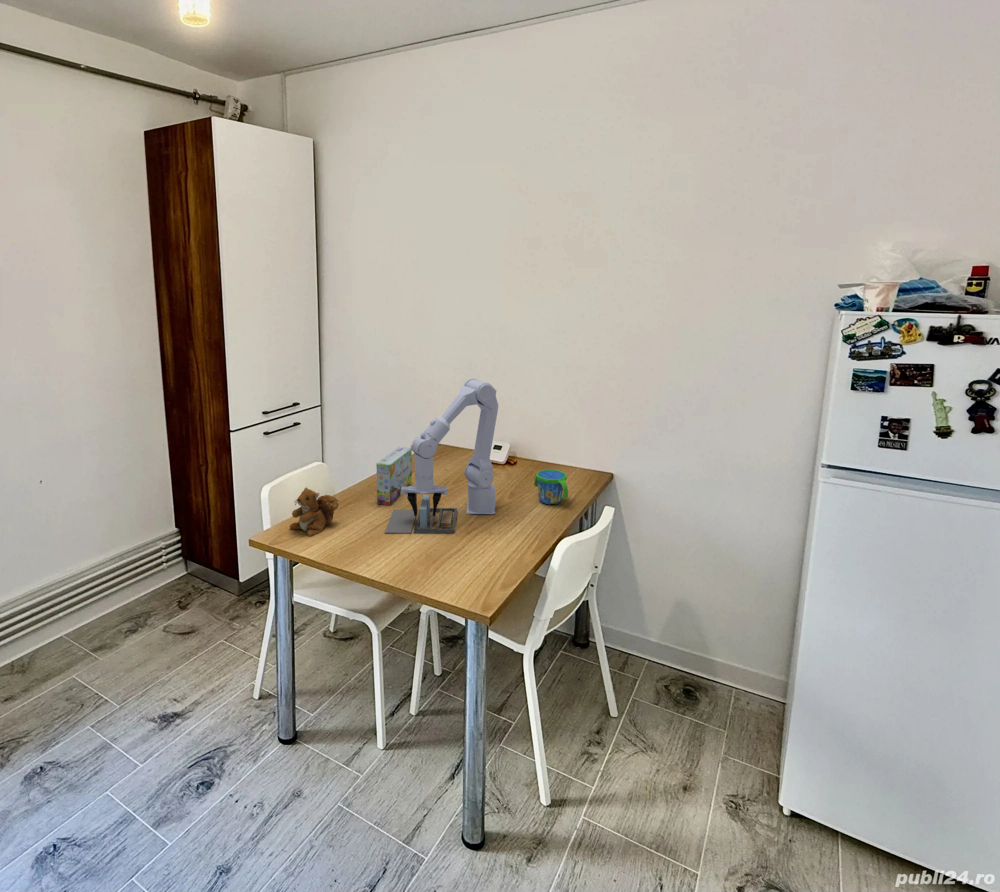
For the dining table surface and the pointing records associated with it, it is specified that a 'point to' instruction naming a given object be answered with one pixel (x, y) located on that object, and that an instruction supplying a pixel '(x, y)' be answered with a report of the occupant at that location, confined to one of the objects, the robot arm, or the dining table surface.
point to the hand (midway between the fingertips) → (425, 514)
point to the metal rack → (437, 530)
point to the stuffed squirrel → (314, 511)
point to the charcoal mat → (401, 522)
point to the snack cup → (551, 486)
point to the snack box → (393, 475)
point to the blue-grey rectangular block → (425, 512)
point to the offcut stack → (446, 520)
